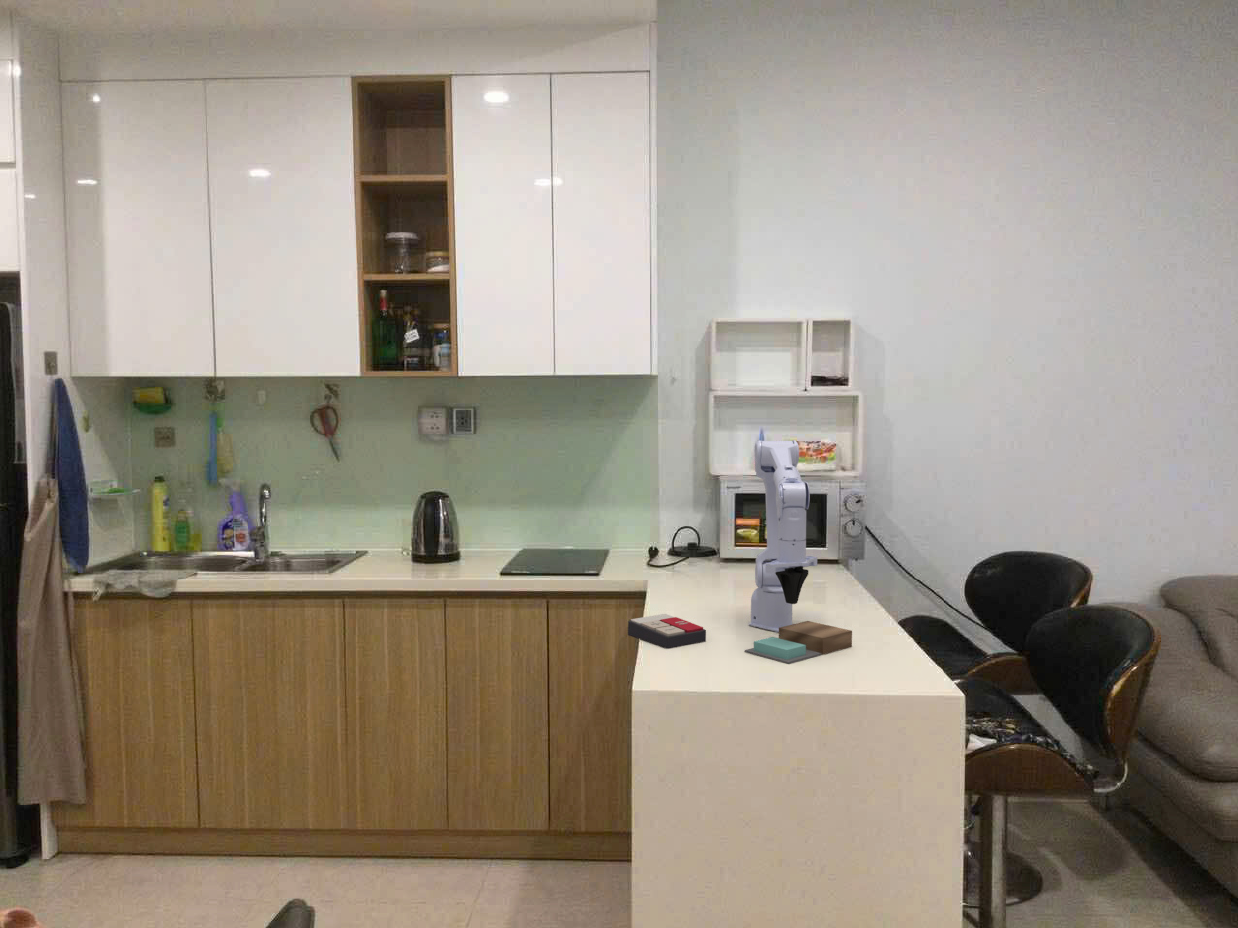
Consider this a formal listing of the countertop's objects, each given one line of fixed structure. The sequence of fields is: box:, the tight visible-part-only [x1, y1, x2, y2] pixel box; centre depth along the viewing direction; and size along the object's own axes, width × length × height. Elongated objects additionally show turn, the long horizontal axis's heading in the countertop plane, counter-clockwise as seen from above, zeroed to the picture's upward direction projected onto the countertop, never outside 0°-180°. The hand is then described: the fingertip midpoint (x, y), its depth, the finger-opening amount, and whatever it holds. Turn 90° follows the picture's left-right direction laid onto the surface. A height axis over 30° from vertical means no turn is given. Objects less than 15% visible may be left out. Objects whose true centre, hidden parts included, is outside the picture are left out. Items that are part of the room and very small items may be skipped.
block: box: [753, 636, 806, 660], centre depth 192 cm, size 9×6×2 cm, turn 40°
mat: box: [743, 647, 822, 665], centre depth 193 cm, size 12×10×1 cm
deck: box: [778, 620, 853, 656], centre depth 199 cm, size 12×10×4 cm
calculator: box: [627, 613, 707, 650], centre depth 206 cm, size 11×4×15 cm
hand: (791, 603), depth 194 cm, fingers closed
